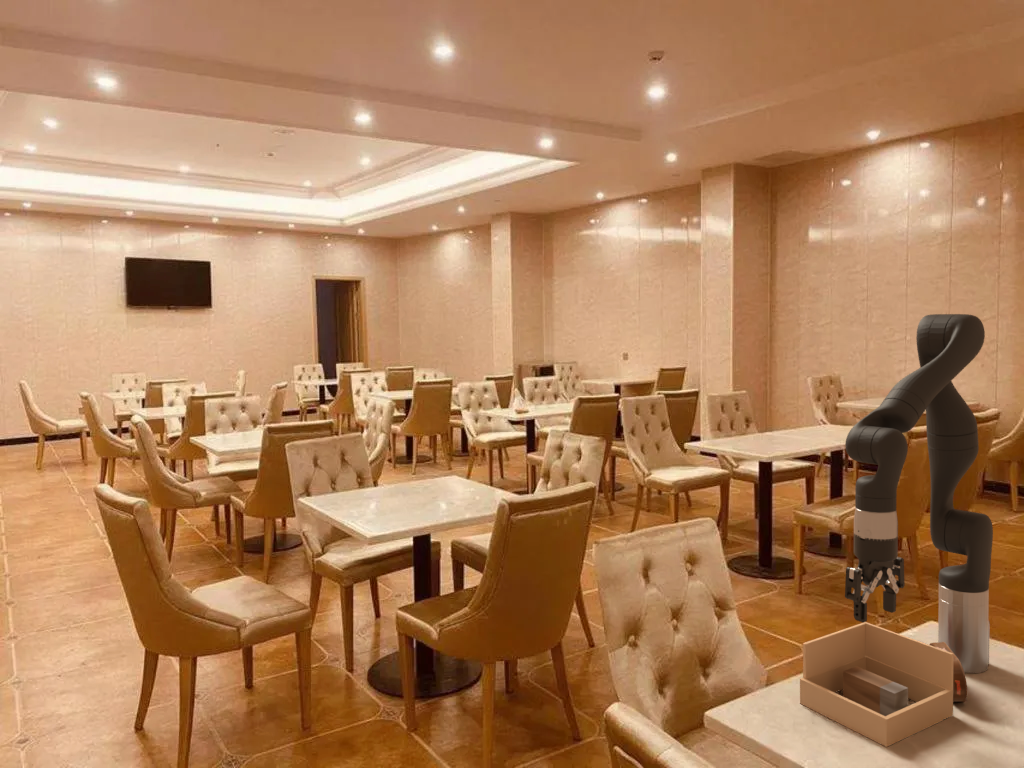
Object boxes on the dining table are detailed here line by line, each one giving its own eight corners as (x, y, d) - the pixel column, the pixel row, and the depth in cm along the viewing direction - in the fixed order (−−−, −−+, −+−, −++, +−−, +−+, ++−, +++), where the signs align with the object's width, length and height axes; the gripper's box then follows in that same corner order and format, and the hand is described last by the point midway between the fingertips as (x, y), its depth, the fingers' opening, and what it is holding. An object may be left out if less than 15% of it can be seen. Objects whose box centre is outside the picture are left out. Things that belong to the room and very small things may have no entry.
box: (856, 695, 155) (856, 666, 155) (908, 718, 146) (908, 687, 145) (843, 700, 153) (843, 671, 153) (894, 724, 144) (894, 693, 143)
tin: (968, 710, 148) (969, 667, 147) (950, 709, 149) (951, 666, 148) (942, 674, 163) (942, 635, 162) (925, 673, 163) (925, 634, 163)
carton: (864, 677, 162) (865, 621, 161) (952, 715, 146) (953, 653, 145) (800, 703, 153) (799, 644, 152) (886, 746, 137) (886, 680, 136)
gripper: (881, 522, 153) (881, 602, 155) (833, 533, 146) (833, 617, 148) (917, 530, 147) (916, 614, 148) (868, 543, 140) (868, 630, 141)
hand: (875, 616), depth 148 cm, fingers open, 8 cm apart
